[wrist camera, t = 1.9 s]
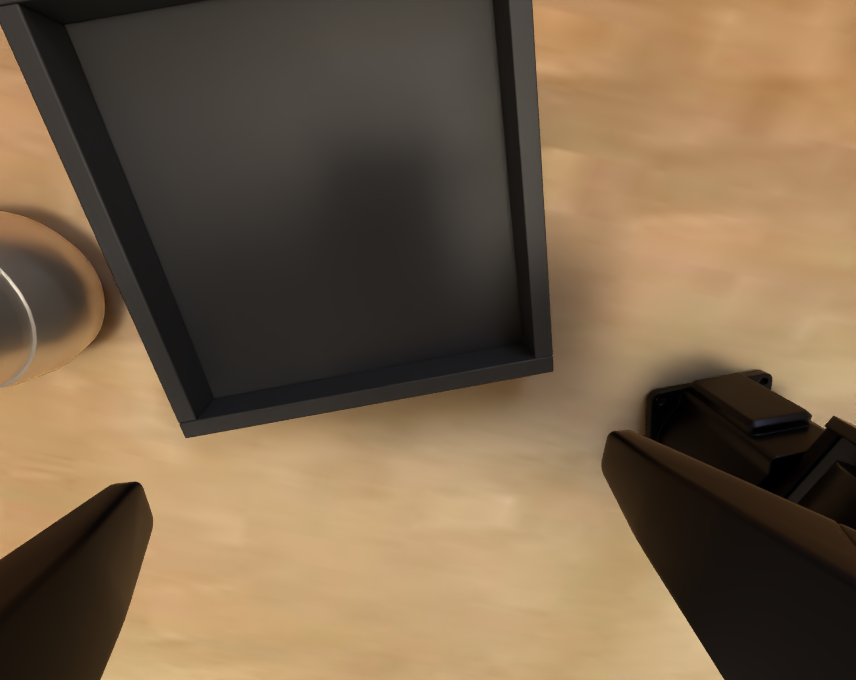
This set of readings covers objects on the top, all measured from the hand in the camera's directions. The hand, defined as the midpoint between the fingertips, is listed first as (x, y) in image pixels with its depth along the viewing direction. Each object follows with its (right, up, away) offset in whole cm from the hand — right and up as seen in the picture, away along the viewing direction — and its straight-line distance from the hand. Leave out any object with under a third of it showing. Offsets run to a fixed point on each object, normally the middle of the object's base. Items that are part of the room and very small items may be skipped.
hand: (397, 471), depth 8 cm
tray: (-3, +8, +10) cm, 13 cm away
